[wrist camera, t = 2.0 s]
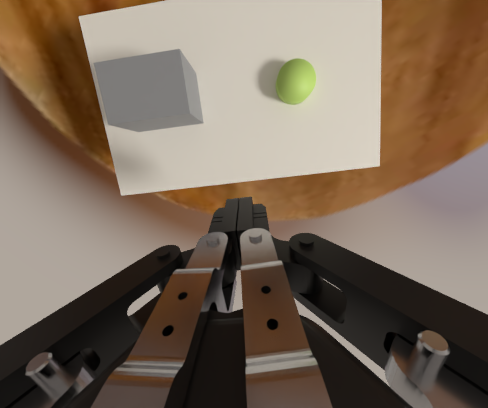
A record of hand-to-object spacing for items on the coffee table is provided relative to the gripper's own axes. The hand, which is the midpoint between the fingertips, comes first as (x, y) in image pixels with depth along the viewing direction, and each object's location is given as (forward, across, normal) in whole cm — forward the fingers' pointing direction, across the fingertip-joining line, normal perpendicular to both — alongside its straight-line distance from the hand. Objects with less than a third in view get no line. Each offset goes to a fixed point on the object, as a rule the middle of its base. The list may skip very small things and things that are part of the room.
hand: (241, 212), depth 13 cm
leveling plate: (+11, 0, -6) cm, 12 cm away
